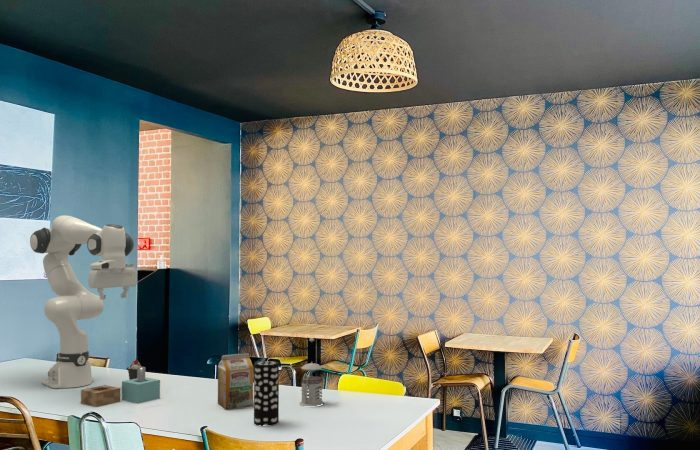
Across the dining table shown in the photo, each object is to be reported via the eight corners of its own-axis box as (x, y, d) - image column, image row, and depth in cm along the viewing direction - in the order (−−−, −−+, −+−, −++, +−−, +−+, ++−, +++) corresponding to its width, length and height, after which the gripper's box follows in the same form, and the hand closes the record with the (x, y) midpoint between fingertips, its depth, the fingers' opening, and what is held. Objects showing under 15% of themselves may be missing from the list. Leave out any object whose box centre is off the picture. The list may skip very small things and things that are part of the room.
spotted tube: (254, 419, 210) (255, 361, 211) (278, 418, 211) (279, 360, 212) (252, 426, 202) (253, 365, 203) (278, 425, 203) (278, 365, 203)
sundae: (137, 394, 247) (138, 357, 248) (122, 394, 248) (123, 357, 249) (146, 391, 253) (146, 354, 254) (131, 390, 255) (132, 354, 255)
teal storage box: (121, 402, 235) (122, 381, 235) (143, 397, 243) (144, 377, 243) (137, 406, 229) (138, 384, 229) (159, 400, 237) (160, 379, 237)
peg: (135, 399, 235) (135, 367, 236) (141, 397, 238) (142, 366, 238) (139, 400, 234) (140, 368, 234) (146, 398, 236) (147, 367, 237)
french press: (328, 401, 235) (328, 336, 236) (317, 409, 224) (317, 340, 225) (305, 399, 238) (305, 335, 239) (292, 407, 227) (292, 339, 228)
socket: (80, 405, 229) (81, 389, 230) (104, 400, 237) (105, 384, 238) (96, 409, 224) (96, 393, 224) (120, 404, 232) (120, 388, 232)
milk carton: (225, 410, 223) (225, 357, 224) (217, 403, 233) (218, 353, 233) (253, 406, 228) (253, 355, 229) (244, 400, 237) (244, 351, 238)
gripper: (131, 263, 256) (130, 296, 255) (86, 264, 239) (85, 300, 239) (140, 263, 252) (140, 297, 252) (95, 264, 236) (94, 300, 235)
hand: (113, 298), depth 245 cm, fingers open, 8 cm apart
